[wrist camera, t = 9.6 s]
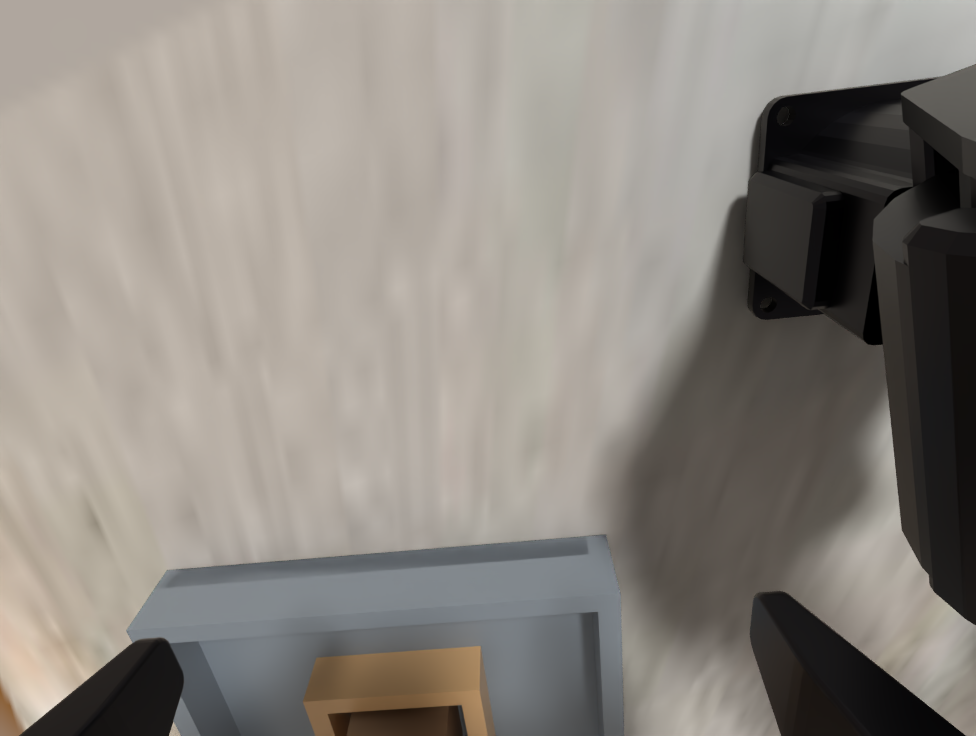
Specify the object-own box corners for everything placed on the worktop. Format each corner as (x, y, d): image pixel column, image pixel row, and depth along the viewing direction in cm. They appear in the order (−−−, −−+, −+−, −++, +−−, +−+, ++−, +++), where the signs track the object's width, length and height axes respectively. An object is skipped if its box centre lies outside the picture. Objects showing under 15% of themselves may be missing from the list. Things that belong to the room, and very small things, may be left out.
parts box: (606, 534, 24) (620, 593, 21) (615, 779, 30) (627, 847, 28) (166, 570, 25) (126, 630, 22) (270, 799, 31) (249, 866, 29)
